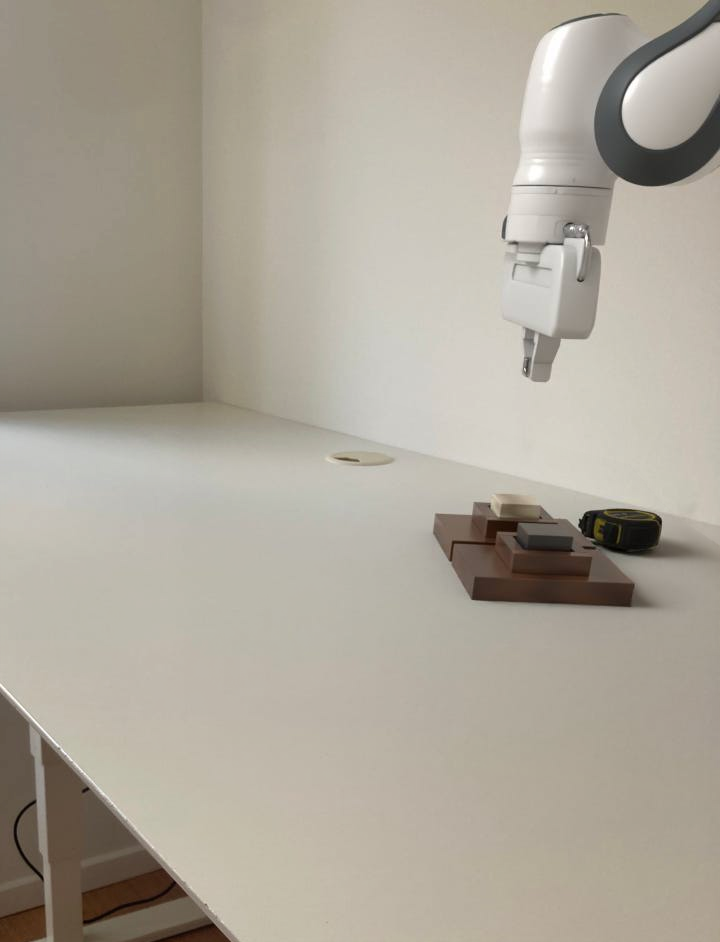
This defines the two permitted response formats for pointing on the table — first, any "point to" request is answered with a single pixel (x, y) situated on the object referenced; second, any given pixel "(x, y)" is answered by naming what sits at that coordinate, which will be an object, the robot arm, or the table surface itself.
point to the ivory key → (515, 506)
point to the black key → (544, 537)
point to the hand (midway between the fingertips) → (534, 379)
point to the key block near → (540, 574)
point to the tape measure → (622, 528)
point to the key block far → (489, 528)
